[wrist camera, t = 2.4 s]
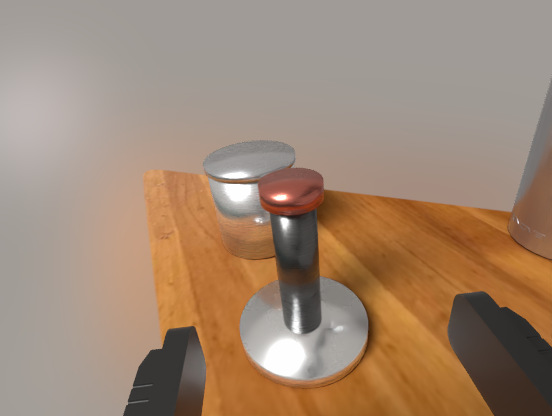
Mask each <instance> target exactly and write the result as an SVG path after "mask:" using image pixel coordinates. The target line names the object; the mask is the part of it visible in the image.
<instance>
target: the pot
mask: <svg viewBox="0 0 552 416" xmlns="http://www.w3.org/2000/svg"><path fill="white" fill-rule="evenodd" d="M295 160H296V158H295V150H294V149H293V148H292V147H291V146H290V145H288V144H285V143H281V142H277V141H249V142H242V143H237V144H233V145H230V146H227V147H224V148H221V149H219V150H217V151H215V152H213V153H211V154H210V155H209V156H207V157H206V159H205V160H204V162H203V166H204V170H205V174H206V175H207V176H208V179H209V184H210V188H211V193H212V197H213V201H214V206H215V210H216V215H217V219H218V223H219V228H220V232H221V237H222V241H223V245H224V247H225V249H226V250H227V251H228V252H229V253H231V254H233V255H235V256H238V257H241V258H246V259H262V258H268V257H272V256H275V250H274V243H273V235H272V228H271V220H270V213H269V212H268V211H266V210H264V209H263V208H262V207H261V204H260V198H259V191H258V182H259V180H260V179H261V178H262V177H263V176H265V175H267V174H269V173H271V172H274V171H277V170H281V169H287V168H294V163H295Z"/></svg>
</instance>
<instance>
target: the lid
mask: <svg viewBox="0 0 552 416" xmlns="http://www.w3.org/2000/svg"><path fill="white" fill-rule="evenodd" d="M323 187H324V186H323V177H322V176H321V174H319V173H318V172H316V171H313V170H310V169H305V168H287V169H281V170H277V171H274V172H271V173H269V174H267V175H265V176H263V177H262V178H261V179H260V180H259V182H258V191H259V198H260V204H261V207H262V208H263V209H264V210H266V211H268V212H269V213H270V220H271V228H272V235H273V243H274V250H275V258H276V265H277V273H278V280H276V281H274V282H272V283H270V284H268V285H266V286H264V287H263V288H261V289H260V290H259V291H258V292H256V293H255V294H254V295H253V296H252V298H251V299H250V300H249V301H248V303H247V304H246V306H245V308H244V310H243V312H242V316H241V319H240V335H241V339H242V344H243V348H244V351H245V354H246V356H247V358H248V360H249V361H250V363H251V364H252V366H253V367H254V368H255V369H256V370H257V371H258V372H259V373H260V374H261V375H263V376H264V377H266V378H267V379H269V380H271V381H273V382H275V383H277V384H280V385H283V386H287V387H292V388H303V389H305V388H316V387H321V386H325V385H328V384H331V383H334V382H336V381H338V380H340V379H341V378H343V377H344V376H346V375H347V374H349V373H350V372H351V371H352V370H353V369H354V368H355V367H356V366H357V364H358V363H359V362H360V360H361V358H362V357H363V355H364V352H365V350H366V346H367V341H368V317H367V314H366V310H365V308H364V306H363V304H362V303H361V301H360V300H359V298H358V297H357V296H356V295H355V294H354V293H353V292H352V291H351V290H350V289H348V288H347V287H345V286H344V285H342V284H340V283H339V282H337V281H334V280H332V279H329V278H325V277H321V276H320V271H319V251H318V231H317V211H316V208H317V207H319V206H320V205H321V204H322V202H323V200H324V188H323Z"/></svg>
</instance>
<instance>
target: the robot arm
mask: <svg viewBox="0 0 552 416" xmlns="http://www.w3.org/2000/svg"><path fill="white" fill-rule="evenodd" d="M508 231H509V233H510V234H511V236H512V237H513V238H514V239H515V240H516V241H517V242H518V243H519V244H521V245H522V246H523V247H525V248H526V249H528V250H530V251H532V252H534V253H536V254H538V255H541V256H543V257H546V258H548V259H552V76H551V79H550V83H549V88H548V90H547V94H546V97H545V101H544V104H543V108H542V111H541V114H540V118H539V121H538V124H537V128H536V131H535V135H534V138H533V141H532V145H531V148H530V152H529V155H528V158H527V162H526V165H525V169H524V172H523V175H522V179H521V183H520V186H519V189H518V193H517V196H516V200H515V203H514V207H513V210H512V213H511V217H510V220H509V224H508ZM448 337H449V341H450V344H451V346H452V348H453V350H454V352H455V353H456V355H457V357H458V358H459V360H460V361H461V363H462V365H463V366H464V368H465V369H466V371H467V373H468V374H469V376H470V377H471V379H472V381H473V382H474V384H475V385H476V387H477V389H478V390H479V392H480V393H481V395H482V397H483V398H484V400H485V401H486V403H487V405H488V406H489V408H490V409H491V411H492V413H493V414H494V416H552V347H551V346H550V345H549V344H548V343H547V342H546V341H545V340H544V339H542V338H541V335H540V334H539V333H538V332H537V331H536V330H535V329H534V328H533V327H532V326H531V325H530V324H529V322H528V321H527V320H526V319H524V318H523V317H521V316H520V315H518V314H517V313H515V312H513V311H512V310H510V309H509V308H507V307H502V308H500V307H499V306H498V305H497V304H496V302H495V301H494V300H493V299H492V298H491V297H490V296H489V295H488V294H487V293H486V292H483V291H480V292H472V293H464V294H457V295H456V296H455V298H454V302H453V306H452V311H451V315H450V320H449V325H448ZM205 381H206V363H205V358H204V354H203V351H202V348H201V345H200V341H199V338H198V335H197V332H196V329H195V327H194V326H190V327H182V328H174V329H169V330H168V331H167V333H166V336H165V340H164V344H163V347H162V349H156V350H151V351H150V352H149V354H148V355H147V357H146V358H145V359H144V361H143V362H142V363H141V365H140V366H139V368H138V371H137V374H136V378H135V381H134V384H133V389H132V390H131V393H130V396H129V399H128V405H127V406H126V409H125V412H124V415H123V416H201V414H202V406H203V397H204V389H205Z"/></svg>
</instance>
